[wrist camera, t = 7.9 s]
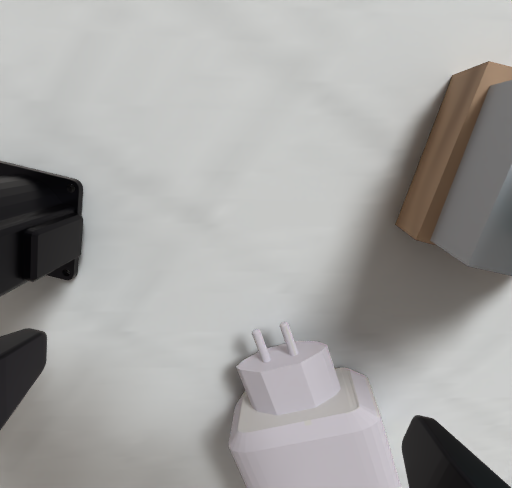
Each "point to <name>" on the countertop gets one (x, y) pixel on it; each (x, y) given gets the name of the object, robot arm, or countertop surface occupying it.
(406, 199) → the tower base
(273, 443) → the charger
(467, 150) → the tower top
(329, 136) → the countertop surface
